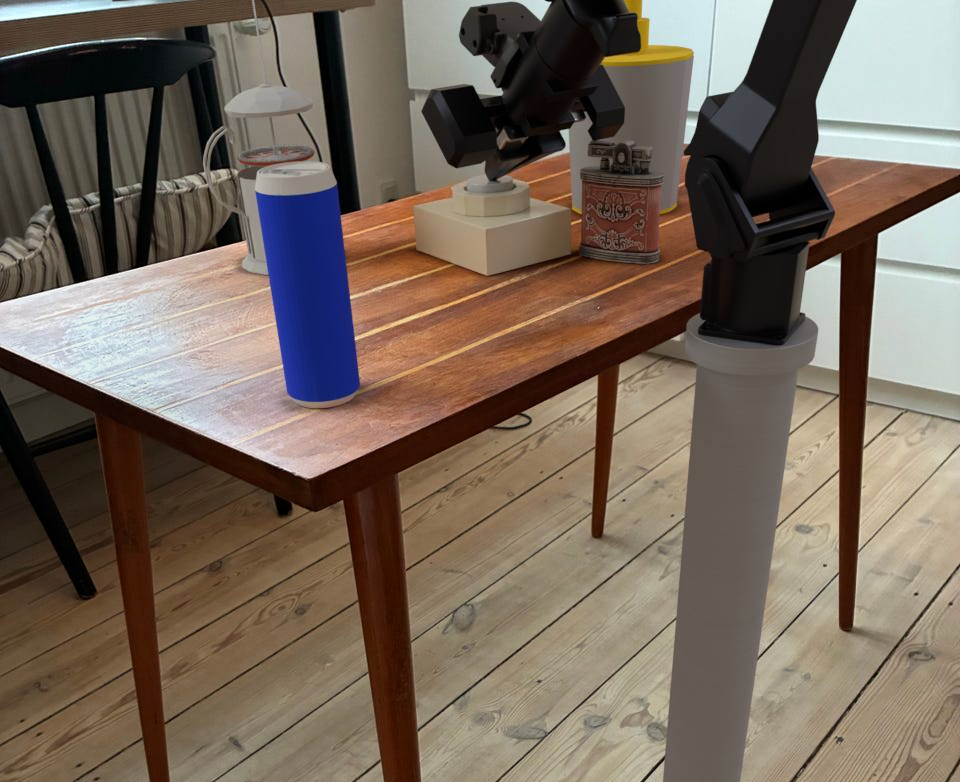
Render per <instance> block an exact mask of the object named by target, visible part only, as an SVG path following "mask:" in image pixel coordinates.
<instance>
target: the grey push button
mask: <svg viewBox="0 0 960 782" xmlns="http://www.w3.org/2000/svg"><path fill="white" fill-rule="evenodd" d="M513 179H514V178H513V176H510V175H508V174H507V175H505V176H503V177H501V178H499V179H496V180H492V181H489V180H488V178H487V176H486V174H481V175H480V174H479V175H475V176H472V177H469V178H468V179H466V181H467V191H469V192H472V193H486V194H487V193H501V192H505V191H510V190H513Z"/></svg>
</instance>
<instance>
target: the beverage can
mask: <svg viewBox="0 0 960 782" xmlns="http://www.w3.org/2000/svg"><path fill="white" fill-rule="evenodd" d="M255 180H256V184H255V193H256V199H257V205H258V212H259V218H260V224H261V231H262V237H263V243H264V250H265V256H266V262H267V268H268V275H267V276H268V280H269V287H270V293H271V299H272V307H273V312H274V318H275V325H276V331H277V338H278V344H279V349H280V356H281V362H282V369H283V375H284V382H285V387H286V393H287V395H288V396H289V397H290V399H291V400H292V401H293V402H294V403H296V405H298V406H300V407H304V408H309V409H326V408H334V407H338V406H341V405H344V404H346V403H348V402H350V401H351V400H353V398H354V397H355V396H356V394H358V391H359V389H360V387H361V380H360V372H359V364H358V354H357V353H358V352H357V347H356V346H357V344H356V337H355V336H356V335H355V329H354V321H353V320H354V319H353V318H354V317H353V310H352V302H351V301H352V300H351V293H350V284H349V277H348V276H349V275H348V267H347V259H346V258H347V257H346V249H345V242H344V241H345V240H344V233H343V224H342V215H341V214H342V213H341V207H340V198H339V197H340V196H339V189H338V182H337V179H336V177H335V175H334V172H333V170H332V167H331V165H330V164H329V163H325V162H323V161H312V160H311V161H310V160H306V161H298V162H287V163H280V164H274V165H270V166H267V167H264V168H262V169H260V170H258V172H257V177H256V179H255Z"/></svg>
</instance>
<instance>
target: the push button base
mask: <svg viewBox="0 0 960 782" xmlns="http://www.w3.org/2000/svg"><path fill="white" fill-rule="evenodd" d="M450 196H451V197H447V198H443V199H439V200H434V201H428V202H425V203H420V204H415V205H413V206H412V209H413V210H412V211H413V223H414V235H415V249H416V251H418V252H421V253H424V254H426V255H428V256H429V255H430V256H432V257H434V258H437V259H440V260H443V261H445V262H448V263H451V264H453V265H456V266H459V267H462V268H463V269H464V268H465V269H467V270H470V271H472V272H476V273H478V274H481V275H483V276H486V277H490V276H493V275H497V274H501V273H505V272H508V271H512V270H516V269H520V268H525V267H528V266H531V265H535V264H539V263H543V262H546V261H547V262H548V261H550V260H554V259H558V258H563V257H566V256H570V255H571V254H572V207H571V208H570V207H567V206H563V205H560V204H555V203H551V202H549V201H545V200H540V199H537V198H533V197H531V186H530V185H529V183H528V182H527V181H524V180H519V179H515V178H513V190H510V191H505V192H501V193H487V194H486V193H472V192H469V191H467V180H465V181H461V182H458V183H456V184H454V185H452V186H451V187H450Z"/></svg>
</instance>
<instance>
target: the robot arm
mask: <svg viewBox="0 0 960 782" xmlns="http://www.w3.org/2000/svg"><path fill="white" fill-rule="evenodd" d="M544 1H545V2H547V3H550V4H549V6H548V8H547V9H546V11H545V13H544V15H543V17H542V19H540V18H538V16H536V15H535V14H534V13H533V12H532V11H531V9H529V8H528V7H527V6H525V5H524V4H522V3H521V2H519V1H506V2H496V3H485V4H481V5H475V6H470V7H469V8H468V10H467V11H466V13H465V15H464V16H463V17H462V20H461V22H460V27H459V32H458V38H459V42H460V44H461V45H462V46H463V47H464V48H465V49H466V51H468V52H469V53H470V54H471V55H472V56H473V57H479V56H482V57H483V58H484V59H485V60H486V61H487V62H488V63H489V64H490V65H491V66H492V67H494V68H493V70H492V72H491V74H490V80H491V81H492V83H493V85H494V87H495V89H501V91H502V94H501V95H497V96H491V97H485V98H480V96H479V94H478V92H477V90H476V88H475V86H474V85H473V84H468V83H461V84H455V85H449V86H448V85H447V86H443V87H436V88H431V89H430V91H429V93H428V95H427V97H426V99H425V101H424V104H423V105H422V107H421V111H420V112H421V114H422V116H423V118H424V120H425V122H426V124H427V126H428V128H429V130H430V132H431V134H432V136H433V137H434V140H435V142H436V143H437V145H438V147H439V149H440V151H441V153H442V155H443V157H444V159H445V161H446V163H447V165H450V166H451V167H453V168H455V169H462V168H466V167H467V168H468V167H472V166H476V165H481V164H483V163H484V175H486V176H487V178H488V180H489V181H492V180H496V179H499V178H501V177H503V176H505V175H507V176H508V175H509V174H511V173H513V172H516V171H518V170H519V169H522V168H524V167H526V166H528V165H530V164H533V163H535V162H537V161H539V160H542V159H544V158H546V157H548V156H551V155H552V154H555V153H558V152H561V151H563V150H565V148H566V147H567V145H566V141H565V139H564V137H563V134H562V133H561V131H565V130H569V129H570V128H571V127H572V125H573V124H574V123H576V122H581V121H584V120H585V119H586V115H585V113H584V112H587V114H588V116H589V118H590V120H591V122H592V125H591V127H590V128H589V129H588V133H589V135H590V136H591V138H592V140H593V141H596V140H601V139H606V138H610V137H614V136H615V135H616V134H617V132H618V131H619V129H620V128H621V127H622V125H623V124H624V121H625V106H624V104H623V102H622V101H621V99H620V97H619V95H618V93H617V91H616V89H615V87H614V85H613V83H612V81H611V80H610V78H609V76H608V74H607V72H606V70H605V68H604V66H603V65H600V64H601V62H602V61H603V59H604V58H605V57H610V56H617V55H624V54H630V53H637V52H639V51H640V50H641V35H640V32H639V30H638V25H637V20H638V15H637V13H630V12H629V10H628V8H627V6H626V4H625V2H624V0H544ZM857 1H858V0H772V1H771V5H770V7H769V10H768V12H767V14H766V15H767V16H766V18H765V21H764V24H763V27H762V28H761V29H762V30H761V32H760V35H759V37H758V41H757V44H756V46H755V49H754V52H753V54H752V57H751V60H750V62H749V66H748V67H747V68H748V69H747V71H746V74H745V76H744V78H743V80H742V81H741V82H740V83H739V85H738V86H737V87H736V88H735V89H734V90H733V91H729V92H723V93H719V94H712V95H708V96H706V97H705V98H704V101H703V102H702V104H701V106H700V108H699V110H698V115H697V116H698V117H697V121H696V126H695V130H694V133H693V135H692V138H691V140H690V142H689V144H688V145H687V146H686V147H685V149H683V155H684V156H686V157H687V156H688V157H689V158H688V161H687V163H686V168H685V173H684V186H685V188H686V191H687V198H688V204H689V210H690V215H691V220H692V226H693V232H694V238H695V244H696V248H697V249H698V250H699V251H703V252H705V253H708V254H709V256H710V257H711V259H710V260H709V261H707V263H706V264H705V265H703V270H702V271H703V272H702V273H703V274H702V285H701V299H700V311H699V313H700V318H701V319H702V320H706V321H705V322H704V323H703V324H701V325H700V326H699V327H698V334H699V335H703V336H710V337H717V338H725V339H732V340H739V341H746V342H754V343H761V344H768V345H776V346H780V345H784V344H785V343H786V342H787V340H788V339H789V338H790V337H791V336H792V335H793V333H794V332H795V331H796V330H797V329H798V328H799V326H800V325H801V324H802V323H803V322H804V320H805V316H806V313H805V312H801V308H802V301H803V300H802V299H803V293H804V286H805V278H806V273H807V272H806V271H807V264H808V259H809V257H808V256H809V249H810V242H812V241H815V240H816V241H819V240H822V239H824V238H826V235H827V234H828V231H829V229H830V227H831V225H832V223H833V220H834V219H835V216H836V211H835V208H834V206H833V204H832V202H831V201H830V199H829V197H828V195H827V194H826V192H825V190H824V188H823V186H822V185H821V183H820V180H819V179H818V177H817V175H816V174H815V172H814V169H813V168H812V166H813V162H814V159H815V155H816V152H817V148H818V145H819V139H820V133H819V132H820V131H819V123H818V122H819V121H818V109H817V99H818V96H819V92H820V91H821V90H820V89H821V87H822V84H823V82H824V79H825V78H826V75H827V73H828V70H829V68H830V65H831V63H832V61H833V58H834V56H835V54H836V52H837V50H838V46H839V44H840V41H841V39H842V37H843V34H844V32H845V30H846V28H847V24H848V23H849V21H850V17H851V16H852V13H853V11H854V8H855V6H856V4H857ZM766 214H767V215H768V218H769V219H768V220H765V221H761V222H757V223H756V221H755V220H754V218H756V217H759V216H763V215H766Z"/></svg>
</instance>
